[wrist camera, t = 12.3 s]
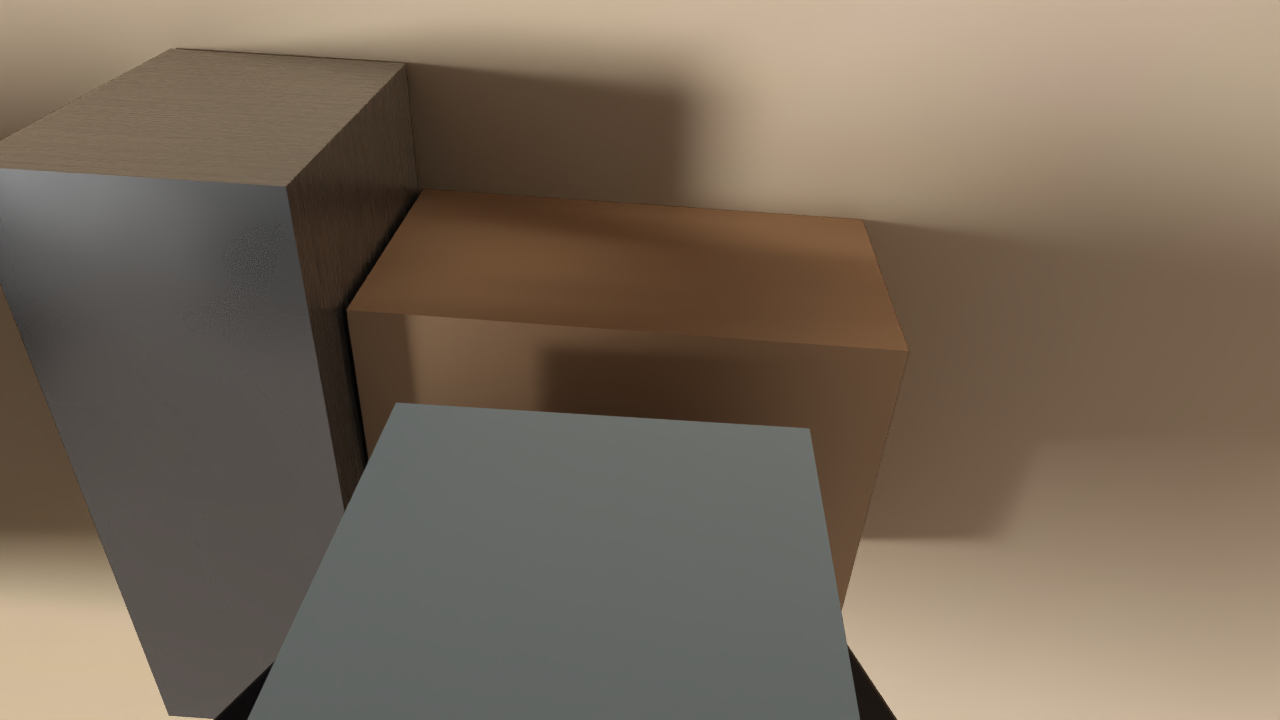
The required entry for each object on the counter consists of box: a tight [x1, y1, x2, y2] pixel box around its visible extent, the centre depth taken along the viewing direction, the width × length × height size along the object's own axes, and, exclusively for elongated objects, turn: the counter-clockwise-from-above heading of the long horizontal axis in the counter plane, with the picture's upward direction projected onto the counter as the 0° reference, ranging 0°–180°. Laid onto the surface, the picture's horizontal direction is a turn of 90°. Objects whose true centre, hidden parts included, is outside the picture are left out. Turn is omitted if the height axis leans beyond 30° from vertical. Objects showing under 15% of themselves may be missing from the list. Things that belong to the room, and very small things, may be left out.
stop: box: [0, 49, 418, 719], centre depth 12 cm, size 3×8×4 cm, turn 178°
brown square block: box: [346, 189, 909, 611], centre depth 13 cm, size 6×6×4 cm
